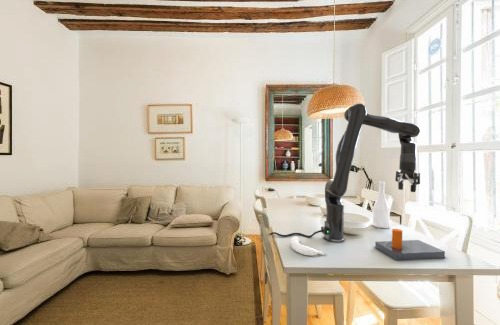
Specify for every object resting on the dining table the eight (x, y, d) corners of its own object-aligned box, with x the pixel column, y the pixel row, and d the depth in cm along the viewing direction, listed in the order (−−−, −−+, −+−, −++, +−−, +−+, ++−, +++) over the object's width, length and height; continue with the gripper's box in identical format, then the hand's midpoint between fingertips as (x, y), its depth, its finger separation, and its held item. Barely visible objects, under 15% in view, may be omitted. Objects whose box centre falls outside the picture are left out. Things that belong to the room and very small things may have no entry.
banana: (288, 240, 121) (316, 241, 120) (292, 258, 102) (325, 259, 101) (288, 232, 121) (316, 233, 120) (293, 248, 102) (326, 249, 101)
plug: (396, 254, 105) (396, 231, 104) (389, 251, 109) (390, 228, 108) (403, 254, 105) (404, 231, 105) (397, 251, 109) (397, 228, 109)
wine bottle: (369, 224, 152) (370, 180, 152) (382, 224, 153) (383, 180, 153) (378, 228, 143) (380, 182, 142) (392, 228, 144) (393, 182, 143)
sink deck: (396, 260, 99) (396, 253, 99) (375, 247, 113) (375, 241, 113) (444, 257, 102) (444, 251, 102) (418, 245, 116) (418, 239, 116)
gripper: (392, 161, 130) (390, 188, 130) (412, 161, 116) (410, 192, 116) (404, 161, 131) (402, 189, 131) (425, 161, 117) (424, 192, 117)
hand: (406, 190), depth 124 cm, fingers open, 8 cm apart
